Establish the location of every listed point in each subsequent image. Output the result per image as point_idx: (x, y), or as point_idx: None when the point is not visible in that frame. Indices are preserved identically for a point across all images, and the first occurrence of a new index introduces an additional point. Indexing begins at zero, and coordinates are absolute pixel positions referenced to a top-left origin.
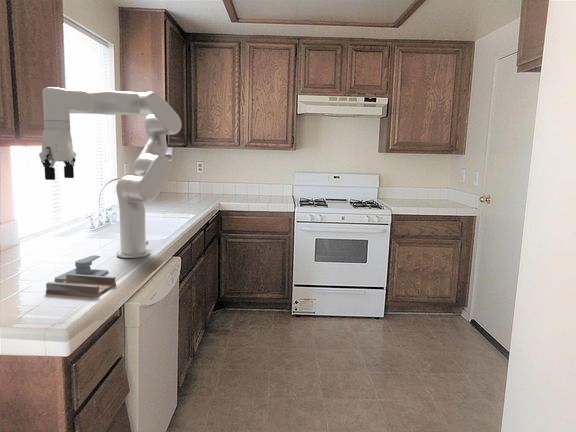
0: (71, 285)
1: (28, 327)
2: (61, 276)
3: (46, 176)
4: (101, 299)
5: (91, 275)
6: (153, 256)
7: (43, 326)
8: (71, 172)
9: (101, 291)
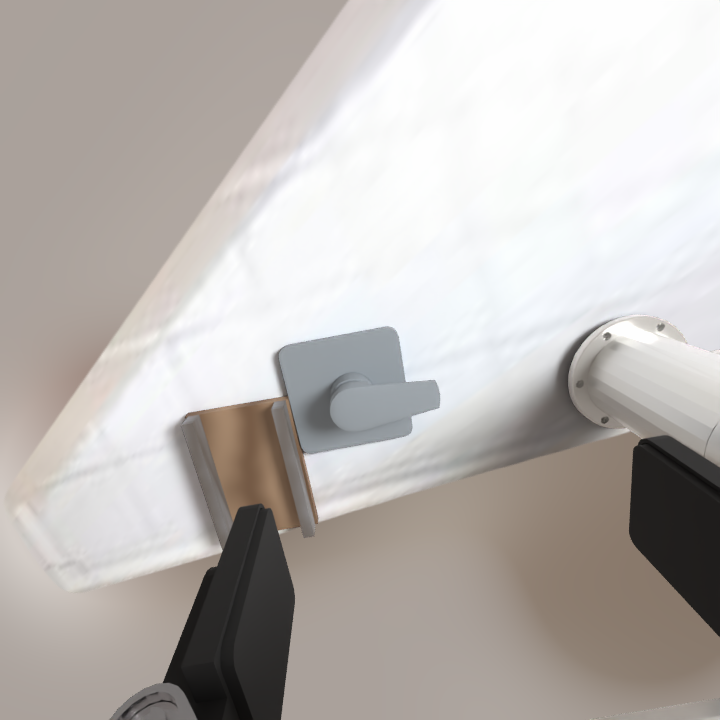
0: (203, 492)
1: (29, 537)
2: (302, 356)
3: (210, 575)
4: None
5: (297, 476)
6: None
7: (50, 555)
8: (686, 589)
9: None
